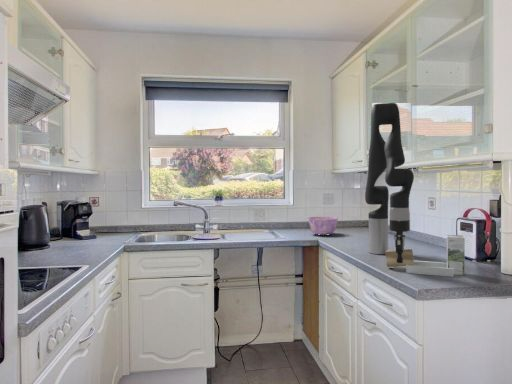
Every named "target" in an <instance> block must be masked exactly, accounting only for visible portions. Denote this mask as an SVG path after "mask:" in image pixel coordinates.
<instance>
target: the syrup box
mask: <svg viewBox="0 0 512 384" xmlns="http://www.w3.org/2000/svg"><path fill="white" fill-rule="evenodd" d="M465 241H466V240H465V237H464V235H458V234H457V235H456V234H455V235H454V234H447V235H446V263H447V268H454V276H465V269H466V268H465V265H466V264H465V262H466V261H465V253H466V251H465V250H466V249H465V246H466V245H465V243H466V242H465Z"/></svg>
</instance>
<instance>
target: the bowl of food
mask: <svg viewBox="0 0 512 384" xmlns="http://www.w3.org/2000/svg"><path fill="white" fill-rule="evenodd" d="M307 219H308V223H309V227H310V230H311V232H312V233H313V234H315V235H317V234H320V235H327V234H329V235H331V234H333V233H334V232H335V231H336V229H337V224H338V220H339V218H338V217H333V216H311V217H307Z"/></svg>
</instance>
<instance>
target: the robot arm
mask: <svg viewBox="0 0 512 384" xmlns="http://www.w3.org/2000/svg"><path fill="white" fill-rule="evenodd" d="M370 110H371V111H370V142H369V151H368V152H369V153H368V165H367V166H368V167H367V178H366V185H365V194H364V199H365V203H366V204H367V205H380V207H378V208H377V209H374V210H372V211H369V212H368V215H367V217H368V253H369V254H374V255H385V251H389V230H390V231H392V232H395V234H394V235H393V240H394V247H395V250H396V253H398V259H397V263H403V258H402V254H403V250H405V241H406V235H404V233H405V232H406V233H407V232H410V230H411V213H410V212H411V211H410V196H411V195H410V194H411V190H412V186H413V183H414V178H415V175H414V171H412V170H411V169H410V168H398V167H400V166H403V165H404V164H405V161H406V159H405V153H404V148H403V145H402V144H403V143H402V135H401V134H402V133H401V132H402V130H401V129H402V128H401V119H400V118H401V117H400V109H399V107H398V104H397V103H396V102H384V103H374V104H372V108H371V109H370ZM387 125H388V126H389V125H391V132H390V133H389V136H388V137H387V139H386V141H385V140H384V138H383V136H382V134H381V131H380V126H387ZM384 172H385V175H384V180H385V183H386V184H387V186H386V185H375V184H376V182H377V180H378V179H379V178H380V176H381V175H382V174H383V173H384ZM388 187H394V188H395V187H401V189H400V190H399V191H397V192H393V193H391V194H390V196H389V188H388ZM389 201H390V202H389ZM399 255H400V256H399ZM399 257H400V258H399Z"/></svg>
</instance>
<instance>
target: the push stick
mask: <svg viewBox="0 0 512 384" xmlns="http://www.w3.org/2000/svg"><path fill="white" fill-rule="evenodd" d="M384 255H385V260H386V266H387V268H394V267H406V265H414V261H415V259H414V253H413V249H412V248H411V249H409V248H408V249H403V254H402V258H403V263H397V259H398V253H396V249H394V250H393V249H388V251H385V254H384ZM399 256H400V255H399ZM399 258H400V257H399Z"/></svg>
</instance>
